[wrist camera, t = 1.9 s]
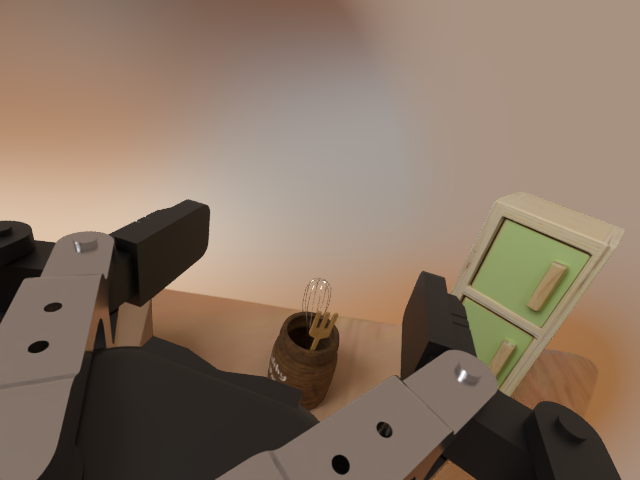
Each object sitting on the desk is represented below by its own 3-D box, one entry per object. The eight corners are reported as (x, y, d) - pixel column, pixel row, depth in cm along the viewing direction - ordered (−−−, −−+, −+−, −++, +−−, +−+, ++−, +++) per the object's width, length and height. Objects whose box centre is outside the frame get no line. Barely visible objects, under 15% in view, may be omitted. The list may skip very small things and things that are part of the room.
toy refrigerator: (401, 385, 34) (492, 198, 24) (434, 354, 39) (521, 189, 29) (473, 449, 30) (620, 251, 20) (501, 405, 35) (630, 230, 25)
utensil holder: (323, 361, 35) (353, 267, 29) (330, 418, 29) (368, 317, 24) (267, 357, 34) (286, 259, 28) (263, 415, 28) (286, 308, 23)
